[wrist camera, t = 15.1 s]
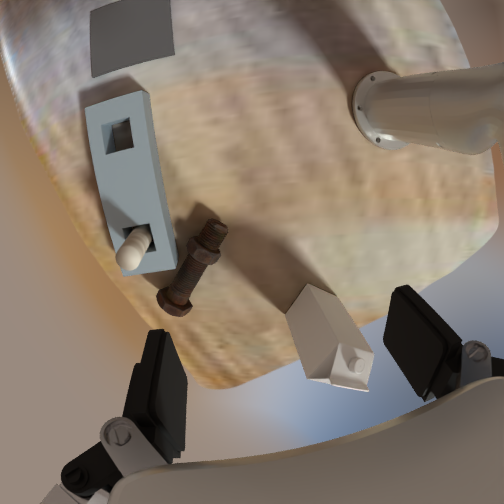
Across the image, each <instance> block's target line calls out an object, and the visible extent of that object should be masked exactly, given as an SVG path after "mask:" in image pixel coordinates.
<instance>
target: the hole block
mask: <svg viewBox="0 0 504 504" xmlns="http://www.w3.org/2000/svg"><path fill="white" fill-rule="evenodd" d="M85 115H86V123H87V130H88V137H89V143H90V149H91V154H92V160H93V165H94V170H95V175H96V180H97V184H98V189H99V193H100V197H101V202H102V206H103V210H104V214H105V217H106V221H107V225H108V228H109V232H110V235H111V239H112V242H113V246H114V249H115V252H116V253H117V251H118V250H119V248H120V247H121V245H122V244H123V243H124V241H125V240H126V239H127V237H128V236H129V235H130V233H131V232H132V231H133V228H132V226H137V225H143V224H148V223H150V227H151V231H152V235H153V239H154V241H153V242H151V243H150V244H149V246H148V248H147V250H146V252H145V254H144V256H143V258H142V260H141V262H140V263H139V265H138V267H137V268H136V269H134V270H131V271H128V270H124V269H122V268H121V267H120V268H121V271H122V274H123V277H124V276H131V275H137V274H144V273H151V272H158V271H164V270H171V269H176V266H177V262H178V258H179V254H178V250H177V246H176V241H175V237H174V233H173V228H172V224H171V219H170V214H169V210H168V205H167V200H166V195H165V190H164V184H163V179H162V174H161V168H160V162H159V157H158V151H157V145H156V138H155V132H154V125H153V118H152V111H151V103H150V95H149V94H148V93H146V92H145V91H143V90H141V91H137V92H133V93H130V94H126V95H123V96H119V97H116V98H113V99H110V100H106V101H103V102H100V103H97V104H95V105H92V106H89V107H86V108H85ZM128 120H130V124H131V131H132V138H133V144H134V148H130V149H126V150H122V151H118V152H116V149H115V143H114V137H113V131H112V125H114V124H117V123H121V122H124V121H128Z"/></svg>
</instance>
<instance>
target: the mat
mask: <svg viewBox="0 0 504 504" xmlns="http://www.w3.org/2000/svg"><path fill="white" fill-rule="evenodd" d="M172 55H175V53H174V43H173V32H172V20H171V7H170V0H122V1H118V2H115V3H113V4H110V5H107V6H104V7H101V8H99V9H96V10H94V11H91V64H92V78H95V77H97V76H100V75H103V74H106V73H109V72H112V71H115V70H118V69H121V68H125V67H128V66H132V65H135V64H139V63H142V62H146V61H150V60H154V59H158V58H163V57H167V56H172Z"/></svg>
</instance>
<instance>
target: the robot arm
mask: <svg viewBox="0 0 504 504" xmlns="http://www.w3.org/2000/svg"><path fill="white" fill-rule="evenodd" d="M370 78H371V79H370ZM352 106H353V114H354V118H355V121H356V123H357V126H358V128H359V129H360V131H361V133H362V134H363V135H364V136H365V137H366V139H368V140H369V141H370V142H371V143H372V144H374V145H376V146H378V147H380V148H383V149H388V150H397V149H402V148H404V147H406V146H407V145H409V144H410V143H414V144H419V145H425V146H430V147H435V148H440V149H444V150H449V151H453V152H457V153H462V154H467V155H476V154H480V153H483V152H485V151H486V150H488V149H489V148H491V147H492V146H493V145H494V144H495V143H496V142H498V144H499V147H500V150H501V155H502V161H503V164H504V62H502V63H498V64H494V65H488V66H483V67H476V68H468V69H458V70H448V71H439V72H431V73H423V74H416V75H410V76H404V77H400V76H398V75H396V74H394V73H392V72H388V71H377V72H373V73H370V74H368V75H366V76H365V77H363V78H362V79H361V80H360V82H359V83H358V85H357V86H356V88H355V91H354V94H353V101H352ZM357 107H358V108H359V109H357ZM383 342H384V345H385V346H386V348H387V349H388V351H389V352H390V354H391V355H392V357H393V358H394V360H395V361H396V363H397V364H398V366H399V367H400V369H401V370H402V372H403V374H404V375H405V377H406V378H407V380H408V381H409V383H410V384H411V386H412V388H413V389H414V391H415V392H416V394H417V395H418V396H419V397H422V399H423V400H424V402H426V401H428V400H430V399H432V398H434V397H436V398H437V400H435V401H433V402H431V403H429V404H427V405H424V406H422V407H420V408H418V409H416V410H414V411H411V412H409V413H407V414H404V415H402V416H399V417H397V418H395V419H392V420H389V421H387V422H384V423H381V424H379V425H376V426H373V427H371V428H368V429H365V430H362V431H359V432H356V433H353V434H350V435H346V436H343V437H339V438H336V439H332V440H329V441H325V442H322V443H317V444H314V445H309V446H306V447H301V448H296V449H291V450H286V451H281V452H276V453H270V454H264V455H257V456H250V457H242V458H235V459H225V460H215V461H201V462H188V463H175V464H172V463H173V458H180V456H181V451H184V450H185V429H186V404H187V385H188V383H187V376H186V374H185V372H184V369H183V366H182V364H181V361H180V359H179V356H178V354H177V351H176V349H175V346H174V344H173V341H172V338H171V336H170V333H169V332H165V331H164V329H156V330H150V331H149V332H148V335H147V339H146V343H145V347H144V351H143V355H142V359H141V363H136V364H135V366H134V369H133V373H132V376H131V380H130V385H129V389H128V394H127V397H126V402H125V406H124V411H123V415H122V417H115V418H112V419H110V420H108V421H107V422H106V423H105V424H104V425H103V426H102V428H101V431H100V440H101V441H100V442H98V443H97V444H96V445H94V446H93V447H91V448H90V449H88V450H87V451H85V452H84V453H82V454H81V455H79V456H78V457H76V458H75V459H73V460H72V461H70V462H69V463H68V464H66V465H65V466H64V468H63V470H62V472H61V481H62V482H61V484H60V485H58V484H56V485H55V486H54V487H53V489H52V490H51V491H50V492H49V493H48V494H47V496H46V497H45V498H44V499H43V501H42V502H41V503H40V504H504V359H500V358H495V357H491V353H490V350H489V348H488V347H487V346H486V345H485V344H483V343H482V342H479V341H468V342H467V343H465V344H464V346H463V345H462V344H461V342H462V339H461V338H460V337H459V336H458V335H457V334H456V333H455V332H454V330H453V329H452V328H451V327H450V326H449V325H448V324H447V323H446V322H445V321H444V320H443V319H442V318H441V317H440V316H439V315H438V314H437V313H436V312H435V310H434V309H433V308H432V307H431V306H430V305H429V304H428V303H427V302H426V301H425V300H424V299H423V298H422V297H421V296H420V295H419V294H418V293H417V292H416V291H415V290H413V289H412V288H411V287H410V286H409V285H403V286H400V287H396V288H395V290H394V292H392V295H391V301H390V306H389V312H388V317H387V322H386V327H385V332H384V336H383Z"/></svg>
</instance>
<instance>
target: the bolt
mask: <svg viewBox="0 0 504 504" xmlns="http://www.w3.org/2000/svg"><path fill="white" fill-rule="evenodd" d="M227 233H228V229H227V226H226V225H225V224H223V223H221V222H219V221H217V220H215V219H209V220H208V221H207V223H206V225H205V227H204V229H203V230H202V232H201V233H200V235H199V237H198V236H195V237H192V238H191V239H190V240H189V241H188V243H187V245H186V247H187V251H188V253H189V255H188V257H187V258H186V259H185V261H184V263H183V265H182V267H181V268H180V270H179V272H178V274H177V276H176V277H175V279H174V281H173V283H172V284H171V285H170V287H166V288H163V289H161V290H159V291H158V293H157V295H156V297H157V302H158V304H159V306H160V307H161V308H162V309H163V310H164V311H165V312H167V313H168V314H170V315H172V316H177V317H183V316H185V315H186V314H187V313H189V312H190V310H191V309H192V307H193V306H192V304H191V302H190V301H189V297H190V295H191V293H192V291H193V289H194V288H195V286H196V284H197V283H198V281H199V279H200V277H201V276H202V274H203V272H204V271H205V269H206V267H207V266H208V265H212V264H214V263H216V262H217V261H218V259H219V258H220V256H221V254H220V250H219V249H218V247H219V245H221V244H220V243H222V241H223V239H224V237H225V235H227Z"/></svg>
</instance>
